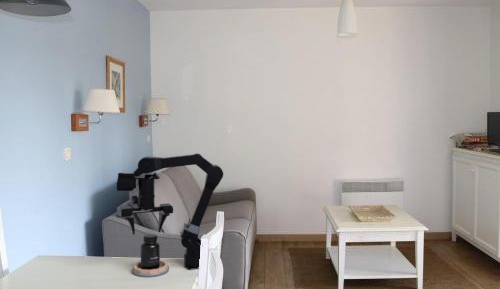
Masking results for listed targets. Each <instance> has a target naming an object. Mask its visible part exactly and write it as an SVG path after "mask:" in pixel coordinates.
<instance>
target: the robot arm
mask: <svg viewBox="0 0 500 289" xmlns="http://www.w3.org/2000/svg"><path fill="white" fill-rule="evenodd" d="M194 165H196V166H197V167H198V168H199V169H201V171H203V172H204V173H206V175H205V179H204V185H203V189H202V192H201V194H200V196H199V199H198V201H197V204H196V206H195V209H194V211H193V214H192V216H191V218H190V221H189V222H188V224H187V223H183V228H182V230H181V231H180V236H179V237H180V239H181V240H180V243H181V245H182V246H183V248H185V251H184V252H185V253H184V254H183V265H184V267H186V269H187V270H195V269H199V268H198V267H199V259H200V245H201V241H202V240H201V239H200V238H199V234H200V233H199V232H200V227H201V224H202V221H203V218H204V216H205V213H206V211H207V208H208V206H209V203H210V201H211V198H212V196H213V193H214V191H215V190H216V188H217V187H218V186H219V184H220V182H221V181H222V179H223V178H224V171H223V169H222V167H221V166H220V165H218V164H213V163H211V162H210V161H208V159H207V158H205V157H203V155H202V154H200V153H197V152H196V153H193V154H186V155H185V154H184V155H178V156H177V155H175V156H169V157H168V156H166V157H162V156H161V157H159V156H143V157H142V158H141V159H140V160H139V161H138V163H137V168H136V169H135V170H134V171H133V172H118V173H117V182H116V191H117V192H134V191H135V189H137V187H138V192H137V193H138V194H137V195H138V196H137V195H131V200H130V202H131V205H132V206H136V208H135V207H132V206H131V205H129V206H128V205H125V206H120V207H119V208H118V212H119V213H118V214H119V216H120V217H121V218H123V219H125V220H127V221H128V223H129V226H130V229H131V232H132V235H133V236H134V235H136V234H135V231H136V230H135V217H134V216H133V214H145V213H158V222H157V223H158V225H157V232H158V233H160V232H161V230H162V228H163V225H164V223H165V221H166V219H167V217H170V216H171V214H173V213H174V206H173V205H171V203H160V204H159V206H155V196H156V194H155V180H160V178H161V176H160V175H159V174H157V171H159V170H163V169H167V168H176V167H178V168H179V167H186V166H194ZM152 173H153V174H152ZM143 174H144V176H142V175H143Z"/></svg>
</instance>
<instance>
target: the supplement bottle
mask: <svg viewBox="0 0 500 289" xmlns="http://www.w3.org/2000/svg"><path fill="white" fill-rule="evenodd" d="M142 241H143V242H142V243H141V244H140V262H141V269H144V270H152V269H158V268H159V267H160V260H161V253H160V252H161V244H160V243H159V242H158V235H157V234H155V233H148V234H144V235H143V239H142Z"/></svg>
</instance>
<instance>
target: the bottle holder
mask: <svg viewBox="0 0 500 289" xmlns="http://www.w3.org/2000/svg"><path fill="white" fill-rule="evenodd" d="M132 267H133V268H132V274H133V276H136V277H138V278H139V277H140V278H155V277H160V276H163V275H166V274H167V273H168V272H169V271H170V266H169V264H168V261H165V260H163V259H160V267H159V268H158V269H152V270H144V269H141V261H138V262H136V263H134V265H133V266H132Z"/></svg>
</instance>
